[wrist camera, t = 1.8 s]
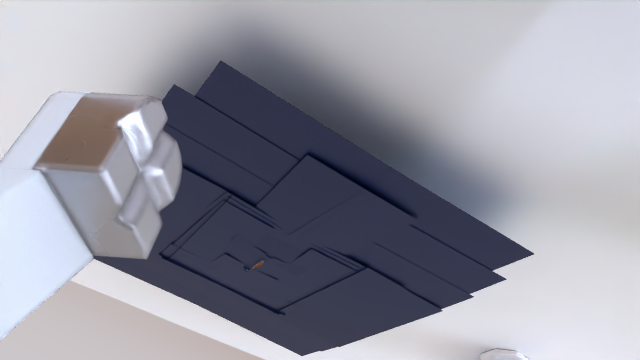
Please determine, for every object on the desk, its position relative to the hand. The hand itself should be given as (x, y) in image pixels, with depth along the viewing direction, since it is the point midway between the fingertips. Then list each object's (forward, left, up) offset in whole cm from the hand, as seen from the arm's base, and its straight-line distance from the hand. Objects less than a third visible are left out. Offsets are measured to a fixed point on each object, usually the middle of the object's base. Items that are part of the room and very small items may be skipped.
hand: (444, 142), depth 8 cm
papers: (+12, +28, -20) cm, 36 cm away
